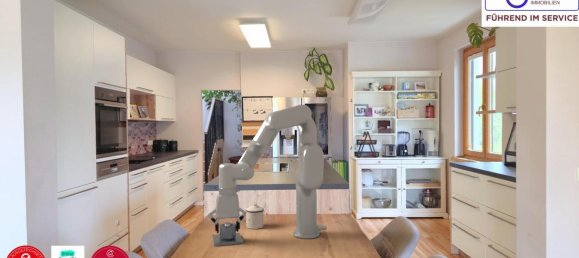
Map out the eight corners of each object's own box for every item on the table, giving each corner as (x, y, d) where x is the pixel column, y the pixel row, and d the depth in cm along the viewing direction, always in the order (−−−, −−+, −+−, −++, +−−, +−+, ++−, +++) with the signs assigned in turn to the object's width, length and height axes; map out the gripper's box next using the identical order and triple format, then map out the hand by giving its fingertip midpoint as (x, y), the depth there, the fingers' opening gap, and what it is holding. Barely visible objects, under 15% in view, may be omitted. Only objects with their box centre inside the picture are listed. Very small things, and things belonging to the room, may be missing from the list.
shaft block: (239, 235, 152) (239, 218, 152) (243, 243, 140) (243, 225, 140) (212, 237, 148) (212, 220, 148) (214, 246, 137) (214, 227, 137)
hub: (234, 233, 148) (234, 222, 148) (236, 238, 142) (236, 226, 142) (219, 234, 146) (219, 223, 147) (220, 239, 140) (220, 227, 140)
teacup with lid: (264, 224, 170) (264, 201, 170) (263, 229, 161) (263, 205, 161) (240, 224, 170) (240, 201, 170) (239, 229, 161) (239, 205, 161)
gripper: (246, 189, 151) (246, 227, 150) (206, 191, 146) (206, 231, 145) (248, 192, 143) (248, 232, 143) (207, 194, 138) (207, 236, 138)
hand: (227, 231), depth 144 cm, fingers open, 8 cm apart
